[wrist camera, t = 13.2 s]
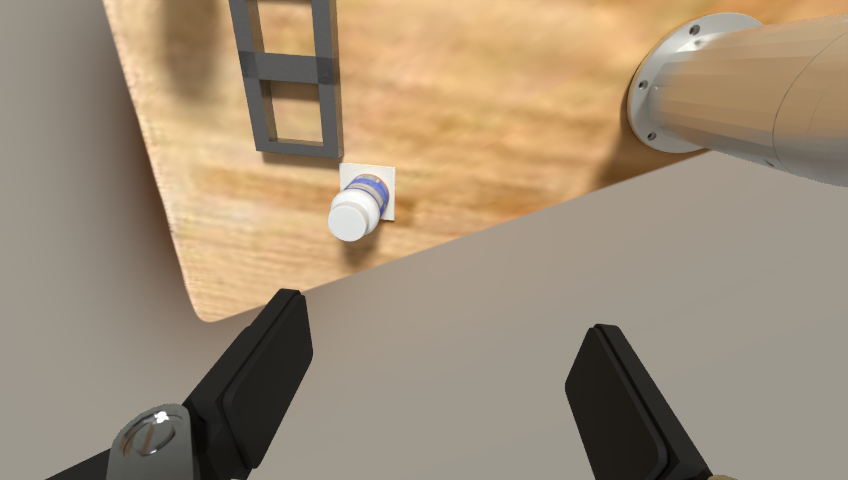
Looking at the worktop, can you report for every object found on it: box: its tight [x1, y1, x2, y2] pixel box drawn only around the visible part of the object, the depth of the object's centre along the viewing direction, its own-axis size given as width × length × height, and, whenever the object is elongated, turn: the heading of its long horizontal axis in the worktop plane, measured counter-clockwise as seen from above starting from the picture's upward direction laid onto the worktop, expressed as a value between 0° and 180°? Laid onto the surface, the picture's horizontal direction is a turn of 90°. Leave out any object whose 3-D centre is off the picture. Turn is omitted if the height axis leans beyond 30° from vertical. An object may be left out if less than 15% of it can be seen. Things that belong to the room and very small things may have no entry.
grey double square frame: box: [229, 0, 344, 158], centre depth 34 cm, size 10×18×2 cm, turn 176°
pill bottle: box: [328, 174, 390, 241], centre depth 36 cm, size 5×5×10 cm
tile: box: [339, 162, 396, 220], centre depth 40 cm, size 7×7×1 cm
